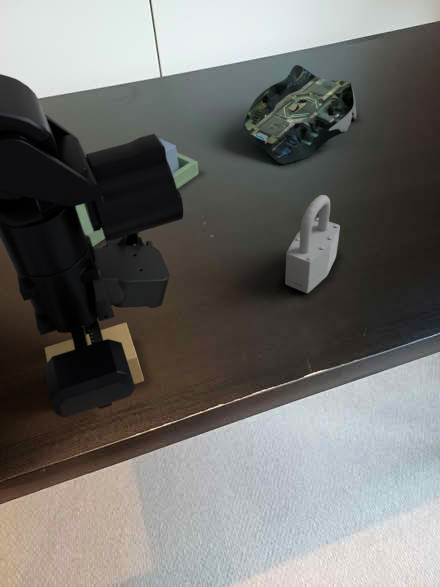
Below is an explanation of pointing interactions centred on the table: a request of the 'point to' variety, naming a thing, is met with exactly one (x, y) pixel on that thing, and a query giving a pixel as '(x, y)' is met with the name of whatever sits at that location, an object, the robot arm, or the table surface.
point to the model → (300, 115)
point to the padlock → (312, 247)
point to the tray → (181, 176)
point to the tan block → (112, 333)
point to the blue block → (171, 155)
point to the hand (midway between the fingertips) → (97, 369)
